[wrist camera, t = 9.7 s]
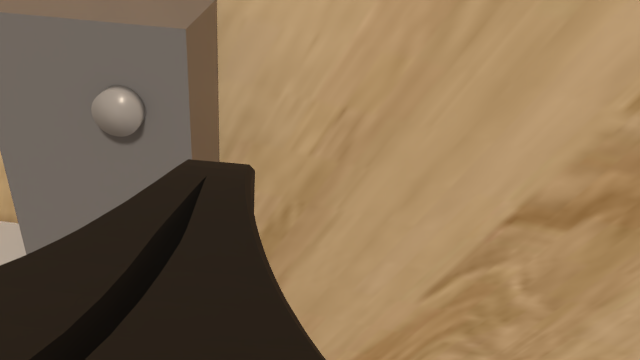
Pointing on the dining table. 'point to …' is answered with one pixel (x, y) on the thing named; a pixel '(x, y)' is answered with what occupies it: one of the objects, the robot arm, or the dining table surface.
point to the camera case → (101, 103)
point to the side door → (10, 242)
